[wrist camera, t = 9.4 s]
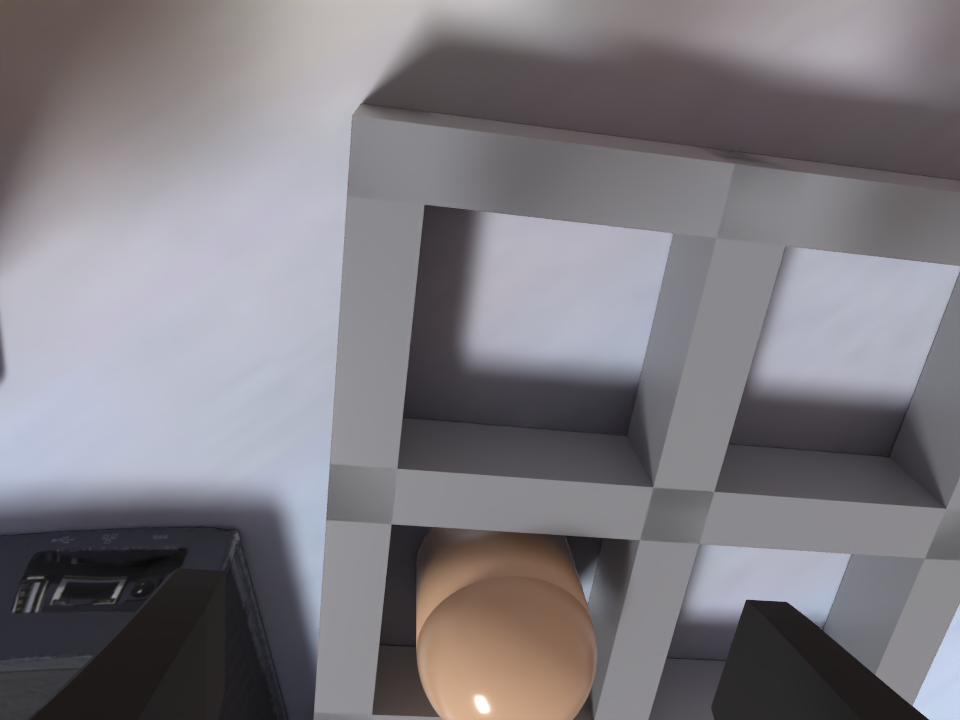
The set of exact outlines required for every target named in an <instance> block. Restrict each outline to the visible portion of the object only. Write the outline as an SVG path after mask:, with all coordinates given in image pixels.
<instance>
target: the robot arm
mask: <svg viewBox="0 0 960 720" xmlns="http://www.w3.org/2000/svg"><path fill="white" fill-rule="evenodd" d="M225 584H226V571H218V570H200V569H182V568H177V569H176V570H175V571H173V572H172V573H171V574H169V575H168V576H167V578H166V579H165V580H164V581H163V582H162V583H161V584H160V585H159V587H158V588H157V589H156V590H155V591H154V592H153V593H152V594H151V595H150V597H149V598H148V599H147V600H146V601H145V602H144V603H143V604H142V605H141V607H140V608H139V609H138V610H137V611H136V612H135V613H134V614H133V615H132V616H131V617H130V618H129V620H128V621H127V622H126V623H125V624H124V625H123V626H122V627H121V628H120V629H119V630H118V631H117V632H116V633H115V634H114V635H113V636H112V637H111V639H110V640H109V641H108V642H107V643H106V644H105V645H104V646H103V647H102V648H101V649H100V650H99V651H98V652H97V653H96V654H95V655H94V656H93V657H92V658H91V659H90V660H89V661H88V662H87V663H86V664H85V665H84V666H83V667H82V668H81V669H80V670H79V671H78V672H77V673H76V674H75V675H74V676H73V677H72V678H71V679H70V680H69V681H68V682H67V683H66V684H65V685H64V686H63V687H62V688H61V689H60V690H59V691H58V692H56V693H55V694H54V695H53V696H52V697H51V698H50V699H49V700H48V701H47V702H46V703H45V704H44V705H43V706H41V707H40V708H39V709H38V710H37V711H36V712H35V713H34V714H33V715H32V716H30V717H29V718H28V719H27V720H218V718H219V714H220V709H221V705H222V700H223V696H224V691H225ZM711 709H712V713H713V717H714V720H929V719H927V718H926V717H925V716H924V715H922V714H921V713H920V712H919V711H918V710H916V709H915V708H914V707H913V706H912V705H910V704H909V703H908V702H907V701H906V700H904V699H903V698H902V697H901V696H900V695H898V694H897V693H896V692H895V691H894V690H892V689H891V688H890V687H889V686H888V685H886V684H885V683H884V682H883V681H882V680H881V679H879V678H878V677H877V676H876V675H875V674H873V673H872V672H871V671H870V670H869V669H868V668H866V667H865V666H864V665H863V664H862V663H861V662H859V661H858V660H857V659H856V658H855V657H853V656H852V655H851V654H850V653H849V652H848V651H846V650H845V649H844V648H843V647H842V646H841V645H839V644H838V643H837V642H836V641H835V640H833V639H832V638H831V637H830V636H829V635H827V634H826V633H825V632H824V631H823V630H821V629H820V628H819V627H818V626H817V625H815V624H814V623H813V622H812V621H811V620H809V619H808V618H807V617H806V616H804V615H803V614H802V613H801V612H799V611H798V610H797V609H795V608H794V607H793V606H791V605H790V604H789V603H787V602H776V601H758V600H746V602H745V605H744V608H743V611H742V614H741V617H740V620H739V623H738V626H737V629H736V633H735V636H734V639H733V642H732V645H731V648H730V651H729V654H728V657H727V660H726V663H725V666H724V669H723V672H722V675H721V678H720V681H719V684H718V687H717V690H716V693H715V696H714V699H713V703H712V706H711Z"/></svg>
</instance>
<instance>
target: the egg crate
mask: <svg viewBox="0 0 960 720" xmlns="http://www.w3.org/2000/svg"><path fill="white" fill-rule="evenodd" d="M424 205H432V206H441V207H449V208H458V209H467V210H476V211H484V212H493V213H502V214H511V215H519V216H528V217H537V218H546V219H554V220H563V221H572V222H580V223H589V224H598V225H607V226H615V227H624V228H633V229H642V230H650V231H659V232H668V233H674V234H673V238H672V242H671V247H670V251H669V255H668V260H667V264H666V268H665V273H664V277H663V281H662V286H661V290H660V294H659V299H658V303H657V307H656V312H655V316H654V320H653V325H652V329H651V333H650V338H649V342H648V346H647V351H646V355H645V359H644V364H643V368H642V372H641V377H640V381H639V385H638V390H637V394H636V398H635V403H634V407H633V411H632V416H631V420H630V424H629V429H628V433H627V436H622V435H609V434H597V433H585V432H572V431H560V430H548V429H535V428H523V427H511V426H498V425H486V424H473V423H461V422H449V421H436V420H424V419H412V418H403V409H404V399H405V390H406V380H407V370H408V360H409V351H410V341H411V331H412V322H413V312H414V302H415V293H416V283H417V273H418V263H419V254H420V244H421V234H422V225H423V215H424ZM785 246H790V247H799V248H808V249H816V250H825V251H834V252H843V253H851V254H860V255H869V256H878V257H886V258H895V259H904V260H913V261H921V262H930V263H939V264H948V265H956V266H960V181H959V180H952V179H944V178H936V177H928V176H921V175H913V174H905V173H897V172H889V171H882V170H874V169H866V168H858V167H851V166H843V165H835V164H827V163H820V162H812V161H804V160H796V159H789V158H781V157H773V156H765V155H758V154H750V153H742V152H734V151H727V150H719V149H711V148H703V147H696V146H688V145H680V144H672V143H665V142H657V141H649V140H641V139H634V138H626V137H618V136H610V135H603V134H595V133H587V132H579V131H572V130H564V129H556V128H548V127H540V126H533V125H525V124H517V123H509V122H502V121H494V120H486V119H478V118H471V117H463V116H455V115H447V114H440V113H432V112H424V111H416V110H409V109H401V108H393V107H385V106H378V105H370V104H362V103H361V104H360V106H359V107H358V108H357V110H356V111H355V112H354V114H353V115H352V128H351V144H350V159H349V175H348V190H347V206H346V222H345V237H344V253H343V268H342V284H341V299H340V315H339V331H338V346H337V362H336V377H335V393H334V408H333V424H332V440H331V455H330V471H329V486H328V502H327V518H326V533H325V549H324V564H323V580H322V595H321V611H320V627H319V642H318V658H317V673H316V689H315V705H314V720H442V719H441V718H440V716H439V715H438V714H437V712H436V711H435V710H434V708H433V707H432V705H431V704H430V702H429V700H428V698H427V696H426V694H425V692H424V689H423V687H422V683H421V680H420V676H419V673H418V666H417V656H416V647H407V646H385V645H379V642H380V632H381V622H382V613H383V603H384V593H385V583H386V574H387V564H388V554H389V545H390V535H391V525H392V524H395V525H411V526H426V527H442V528H457V529H473V530H489V531H504V532H520V533H535V534H551V535H566V536H582V537H598V538H603V541H602V546H601V550H600V554H599V559H598V563H597V567H596V572H595V576H594V580H593V585H592V589H591V593H590V598H589V602H588V609H589V612H590V616H591V619H592V622H593V626H594V631H595V636H596V641H597V666H596V672H595V678H594V681H593V684H592V687H591V690H590V693H589V696H588V698H587V700H586V701H585V703H584V705H583V707H582V708H581V710H580V711H579V713H578V714H577V715H576V717H575V718H574V719H573V720H714V717H713V713H712V709H711V706H712V703H713V699H714V696H715V693H716V690H717V687H718V684H719V681H720V678H721V675H722V672H723V669H724V666H725V663H726V661H715V660H693V659H671V658H666V657H667V654H668V650H669V647H670V643H671V640H672V636H673V633H674V630H675V626H676V623H677V619H678V616H679V612H680V609H681V605H682V602H683V598H684V595H685V592H686V588H687V585H688V581H689V578H690V574H691V571H692V567H693V564H694V560H695V557H696V554H697V550H698V547H699V544H706V545H722V546H738V547H753V548H769V549H784V550H800V551H815V552H831V553H847V554H852V556H851V558H850V561H849V564H848V566H847V569H846V572H845V574H844V577H843V579H842V582H841V585H840V587H839V590H838V592H837V595H836V598H835V600H834V603H833V605H832V608H831V611H830V613H829V616H828V618H827V621H826V624H825V626H824V629H823V631H824V632H825V633H826V634H827V635H829V636H830V637H831V638H832V639H833V640H835V641H836V642H837V643H838V644H839V645H841V646H842V647H843V648H844V649H845V650H846V651H848V652H849V653H850V654H851V655H852V656H853V657H855V658H856V659H857V660H858V661H859V662H861V663H862V664H863V665H864V666H865V667H866V668H868V669H869V670H870V671H871V672H872V673H873V674H875V675H876V676H877V677H878V678H879V679H881V680H882V681H883V682H884V683H885V684H886V685H888V686H889V687H890V688H891V689H892V690H894V691H895V692H896V693H897V694H898V695H900V696H901V697H902V698H903V699H904V700H906V701H907V702H908V703H909V704H910V705H912V706H913V703H914V701H915V699H916V697H917V695H918V693H919V690H920V688H921V686H922V684H923V682H924V680H925V677H926V675H927V673H928V671H929V669H930V667H931V664H932V662H933V660H934V658H935V656H936V654H937V651H938V649H939V647H940V645H941V643H942V641H943V638H944V636H945V634H946V632H947V630H948V628H949V625H950V623H951V621H952V619H953V617H954V615H955V612H956V610H957V608H958V606H959V604H960V274H959V277H958V279H957V282H956V285H955V287H954V290H953V292H952V295H951V298H950V300H949V303H948V306H947V308H946V311H945V313H944V316H943V319H942V321H941V324H940V326H939V329H938V332H937V334H936V337H935V339H934V342H933V345H932V347H931V350H930V352H929V355H928V358H927V360H926V363H925V366H924V368H923V371H922V373H921V376H920V379H919V381H918V384H917V386H916V389H915V392H914V394H913V397H912V399H911V402H910V405H909V407H908V410H907V412H906V415H905V418H904V420H903V423H902V425H901V428H900V431H899V433H898V436H897V439H896V441H895V444H894V446H893V449H892V452H891V454H890V457H881V456H869V455H857V454H844V453H832V452H820V451H807V450H795V449H782V448H770V447H758V446H745V445H733V444H728V443H729V439H730V436H731V433H732V429H733V426H734V422H735V419H736V415H737V412H738V408H739V405H740V401H741V398H742V394H743V391H744V388H745V384H746V381H747V377H748V374H749V370H750V367H751V363H752V360H753V356H754V353H755V350H756V346H757V343H758V339H759V336H760V332H761V329H762V325H763V322H764V318H765V315H766V311H767V308H768V305H769V301H770V298H771V294H772V291H773V287H774V284H775V280H776V277H777V273H778V270H779V267H780V263H781V260H782V256H783V253H784V249H785Z"/></svg>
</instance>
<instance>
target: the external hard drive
mask: <svg viewBox="0 0 960 720" xmlns="http://www.w3.org/2000/svg"><path fill="white" fill-rule="evenodd" d="M177 568H182V569H200V570H218V571H226V584H225V691H224V696H223V700H222V705H221V709H220V714H219V718H218V720H287V714H286V711H285V707H284V703H283V700H282V696H281V693H280V690H279V685H278V681H277V677H276V674H275V670H274V666H273V663H272V659H271V655H270V651H269V648H268V644H267V640H266V636H265V632H264V629H263V625H262V621H261V618H260V614H259V610H258V607H257V603H256V599H255V596H254V592H253V588H252V584H251V580H250V577H249V573H248V569H247V564H246V561H245V558H244V554H243V549H242V547H241V541H240V538H239V532H237V531H236V530H229V531H223V530H220V529H215V528H203V527H198V528H152V529H149V528H143V529H116V530H95V531H67V532H53V533H40V534H23V535H12V536H0V720H27V719H28V718H29V717H30V716H32V715H33V714H34V713H35V712H36V711H37V710H38V709H39V708H40V707H41V706H43V705H44V704H45V703H46V702H47V701H48V700H49V699H50V698H51V697H52V696H53V695H54V694H55V693H56V692H58V691H59V690H60V689H61V688H62V687H63V686H64V685H65V684H66V683H67V682H68V681H69V680H70V679H71V678H72V677H73V676H74V675H75V674H76V673H77V672H78V671H79V670H80V669H81V668H82V667H83V666H84V665H85V664H86V663H87V662H88V661H89V660H90V659H91V658H92V657H93V656H94V655H95V654H96V653H97V652H98V651H99V650H100V649H101V648H102V647H103V646H104V645H105V644H106V643H107V642H108V641H109V640H110V639H111V637H112V636H113V635H114V634H115V633H116V632H117V631H118V630H119V629H120V628H121V627H122V626H123V625H124V624H125V623H126V622H127V621H128V620H129V618H130V617H131V616H132V615H133V614H134V613H135V612H136V611H137V610H138V609H139V608H140V607H141V605H142V604H143V603H144V602H145V601H146V600H147V599H148V598H149V597H150V595H151V594H152V593H153V592H154V591H155V590H156V589H157V588H158V587H159V585H160V584H161V583H162V582H163V581H164V580H165V579H166V578H167V576H168V575H169V574H171V573H172V572H173V571H175V570H176V569H177Z"/></svg>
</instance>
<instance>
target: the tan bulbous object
mask: <svg viewBox="0 0 960 720" xmlns="http://www.w3.org/2000/svg"><path fill="white" fill-rule="evenodd" d="M416 656H417V666H418V673H419V676H420V680H421V683H422V687H423V689H424V692H425V694H426V696H427V698H428V700H429V702H430V704H431V705H432V707H433V708H434V710H435V711H436V712H437V714H438V715H439V716H440V718H441V719H442V720H573V719H574V718H575V717H576V715H577V714H578V713H579V711H580V710H581V708H582V707H583V705H584V703H585V701H586V700H587V698H588V696H589V693H590V690H591V687H592V684H593V681H594V678H595V672H596V666H597V641H596V636H595V631H594V626H593V622H592V619H591V616H590V612H589V609H588V606H587V602H586V599H585V596H584V592H583V589H582V586H581V582H580V579H579V576H578V572H577V569H576V565H575V562H574V559H573V555H572V552H571V549H570V545H569V543H568V540H567V537H566V536H565V535H551V534H535V533H520V532H504V531H489V530H473V529H457V528H442V527H433V528H432V529H431V530H430V531H429V533H428V534H427V535H426V537H425V539H424V541H423V542H422V544H421V547H420V549H419V552H418V556H417V562H416Z"/></svg>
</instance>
